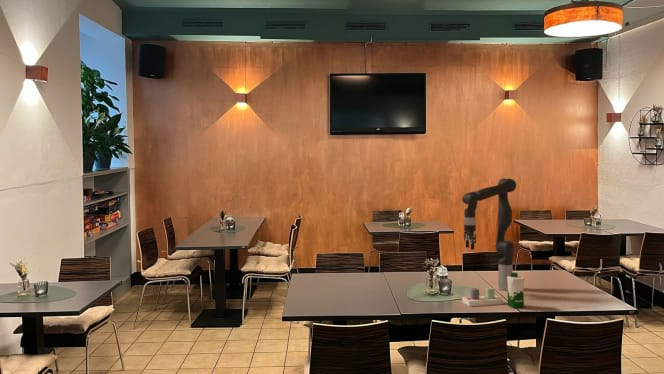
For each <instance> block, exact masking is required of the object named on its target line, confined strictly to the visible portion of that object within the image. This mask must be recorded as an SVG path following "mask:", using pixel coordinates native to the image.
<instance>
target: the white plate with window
mask: <svg viewBox="0 0 664 374" xmlns="http://www.w3.org/2000/svg"><path fill="white" fill-rule="evenodd" d="M461 302H462V303H463V304H465V305H466V306H468V307H479V306H480V307H481V306H497V305H504V299H503V298H501V297H500V296H497V295H496V294H494V299H486V295H480V289H479V288H476V287H475V288H473V287H472V288H470V296H462V297H461Z"/></svg>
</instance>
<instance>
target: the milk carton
mask: <svg viewBox="0 0 664 374" xmlns="http://www.w3.org/2000/svg"><path fill="white" fill-rule="evenodd" d="M507 281H508V290H507V306H508V307H510V308H511V309H524V308H525V299H524V298H525V296H524V295H525V293H524V292H525V291H524V290H525V277H523V276H520V275H519V273H518V272H513V273H511V276H507ZM523 307H524V308H523Z"/></svg>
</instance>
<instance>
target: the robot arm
mask: <svg viewBox="0 0 664 374" xmlns="http://www.w3.org/2000/svg"><path fill="white" fill-rule="evenodd" d="M516 189H517V182H516V181H515V180H514V179H512V178H500V179H499V180H498V182H497V185H493V186H488V187H485V188H481V189H479V190H476V191H471V192H467V193H465V194H463V196H462V198H461V199H462V200H461V201H462V203H463V204H466V205H467V208H465V209H464V211H463V212H464V215H463V216H464V218H463V231H464V232H463V241H464V242H465V248H470V250H472V251H474V250H475V244H477V234H476V233H475V232H476V229H477V227H476V225H477V224H476V223H477V221H476V210H477V205H478V202H481V201H485V200H487V199H489V198H492V197H495V196H497V197H498V205H497V206H498V210H497V211H498V212H497V234H496V242H495V251H496V252H497V253H498V254H501V255H502V254H503V255H504V257H502V258H499V259H498V266H497V267H498V274H497V275H498V277H497V278H498V285H497V286H498V287H497V288H498V290H501V291H508V281H507V276H511V273H513V267H514V266H513V262H514V256H515V244H514V242H513V241H512V240H505V236H506V233H507V230H508V229H509V228H510V226H511V225H512V222H513V210H512V206H511V205H510V203H509V202H510V201H509V195H508V193H512V192H514V191H515V190H516Z"/></svg>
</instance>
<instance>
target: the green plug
mask: <svg viewBox="0 0 664 374" xmlns="http://www.w3.org/2000/svg"><path fill="white" fill-rule="evenodd" d="M494 295H495V288H493V287H491V286H490V287H485V296H486V299H494Z"/></svg>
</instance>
